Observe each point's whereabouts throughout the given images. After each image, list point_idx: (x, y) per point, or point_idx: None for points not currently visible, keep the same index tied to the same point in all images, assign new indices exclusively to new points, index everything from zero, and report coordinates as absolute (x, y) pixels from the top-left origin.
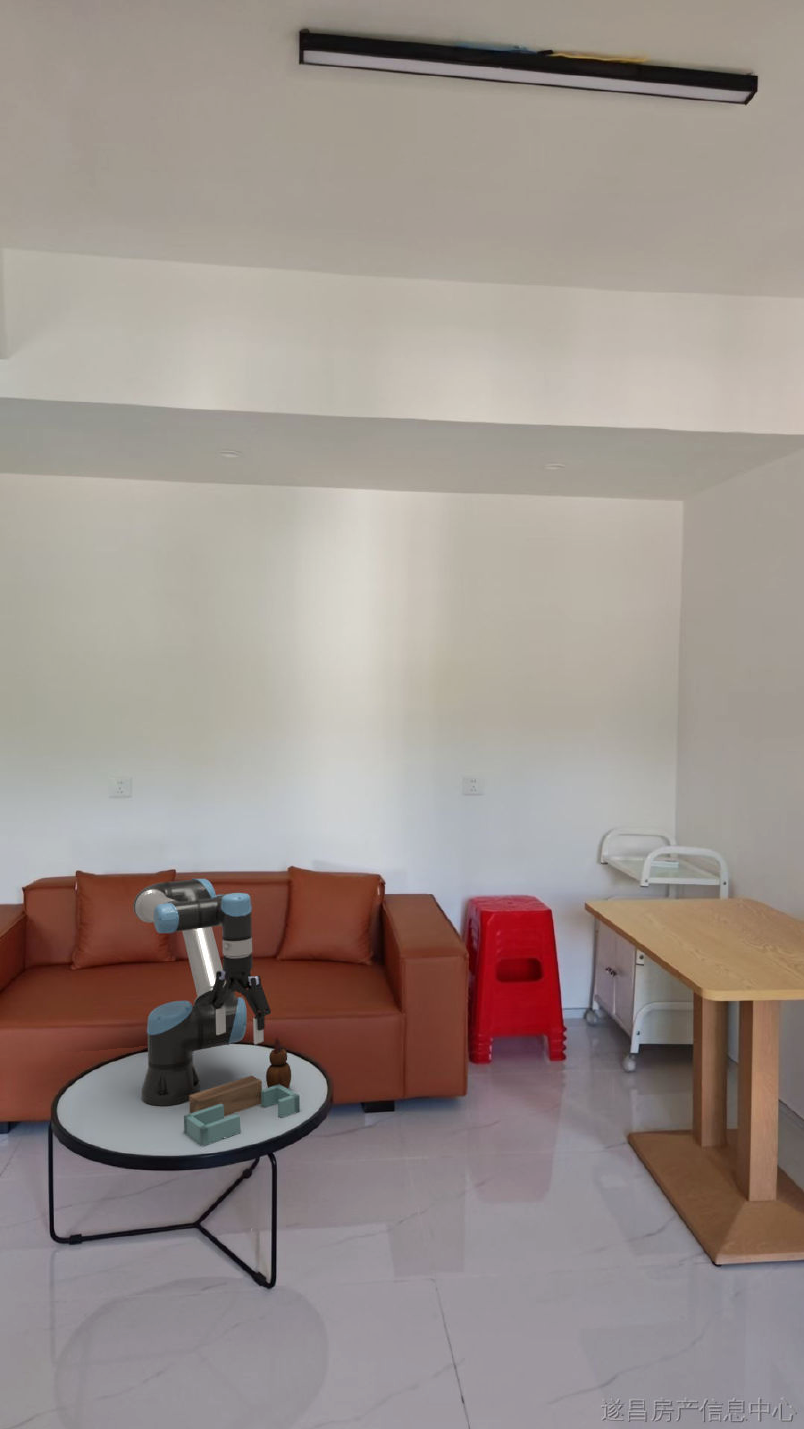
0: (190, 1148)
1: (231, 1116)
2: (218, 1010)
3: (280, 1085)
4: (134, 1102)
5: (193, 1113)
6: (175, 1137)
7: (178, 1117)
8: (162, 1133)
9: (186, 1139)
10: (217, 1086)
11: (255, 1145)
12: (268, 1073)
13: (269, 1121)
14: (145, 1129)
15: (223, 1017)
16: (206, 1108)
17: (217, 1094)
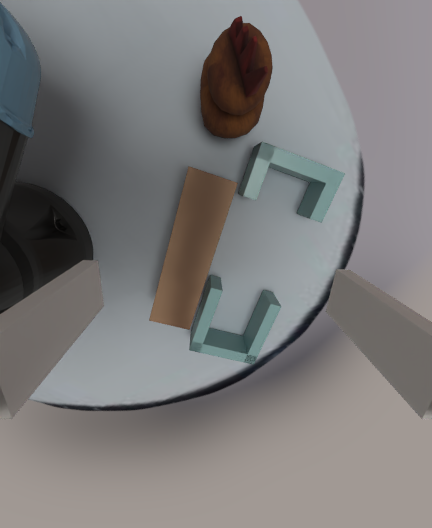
0: None
1: (267, 315)
2: (15, 404)
3: (270, 147)
4: None
5: (196, 337)
6: None
7: (138, 303)
8: (164, 347)
9: None
10: (164, 262)
11: (319, 308)
12: (223, 132)
13: (293, 238)
14: (130, 351)
15: (52, 315)
16: (202, 314)
17: (197, 290)
